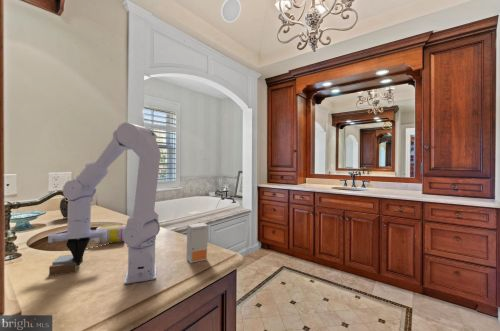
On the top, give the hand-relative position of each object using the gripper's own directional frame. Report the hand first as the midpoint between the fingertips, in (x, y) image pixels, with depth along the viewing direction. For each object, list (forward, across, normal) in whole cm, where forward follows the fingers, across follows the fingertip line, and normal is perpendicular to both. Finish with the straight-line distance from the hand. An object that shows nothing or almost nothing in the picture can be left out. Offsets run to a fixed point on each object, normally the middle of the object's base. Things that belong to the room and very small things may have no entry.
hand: (78, 262), depth 70 cm
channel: (+1, +3, 0) cm, 3 cm away
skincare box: (+1, -35, +7) cm, 36 cm away
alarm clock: (+2, +22, -68) cm, 71 cm away
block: (+1, +3, 0) cm, 4 cm away
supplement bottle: (-2, -11, -21) cm, 24 cm away
